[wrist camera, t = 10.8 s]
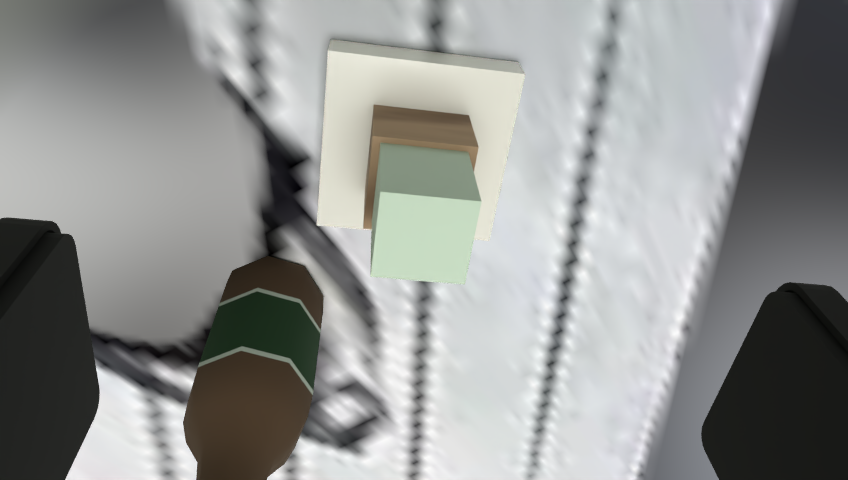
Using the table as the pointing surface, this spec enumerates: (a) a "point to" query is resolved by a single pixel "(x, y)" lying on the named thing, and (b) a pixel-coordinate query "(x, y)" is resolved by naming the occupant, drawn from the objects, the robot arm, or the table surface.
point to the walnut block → (414, 139)
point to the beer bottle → (255, 372)
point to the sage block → (423, 214)
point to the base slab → (416, 89)
